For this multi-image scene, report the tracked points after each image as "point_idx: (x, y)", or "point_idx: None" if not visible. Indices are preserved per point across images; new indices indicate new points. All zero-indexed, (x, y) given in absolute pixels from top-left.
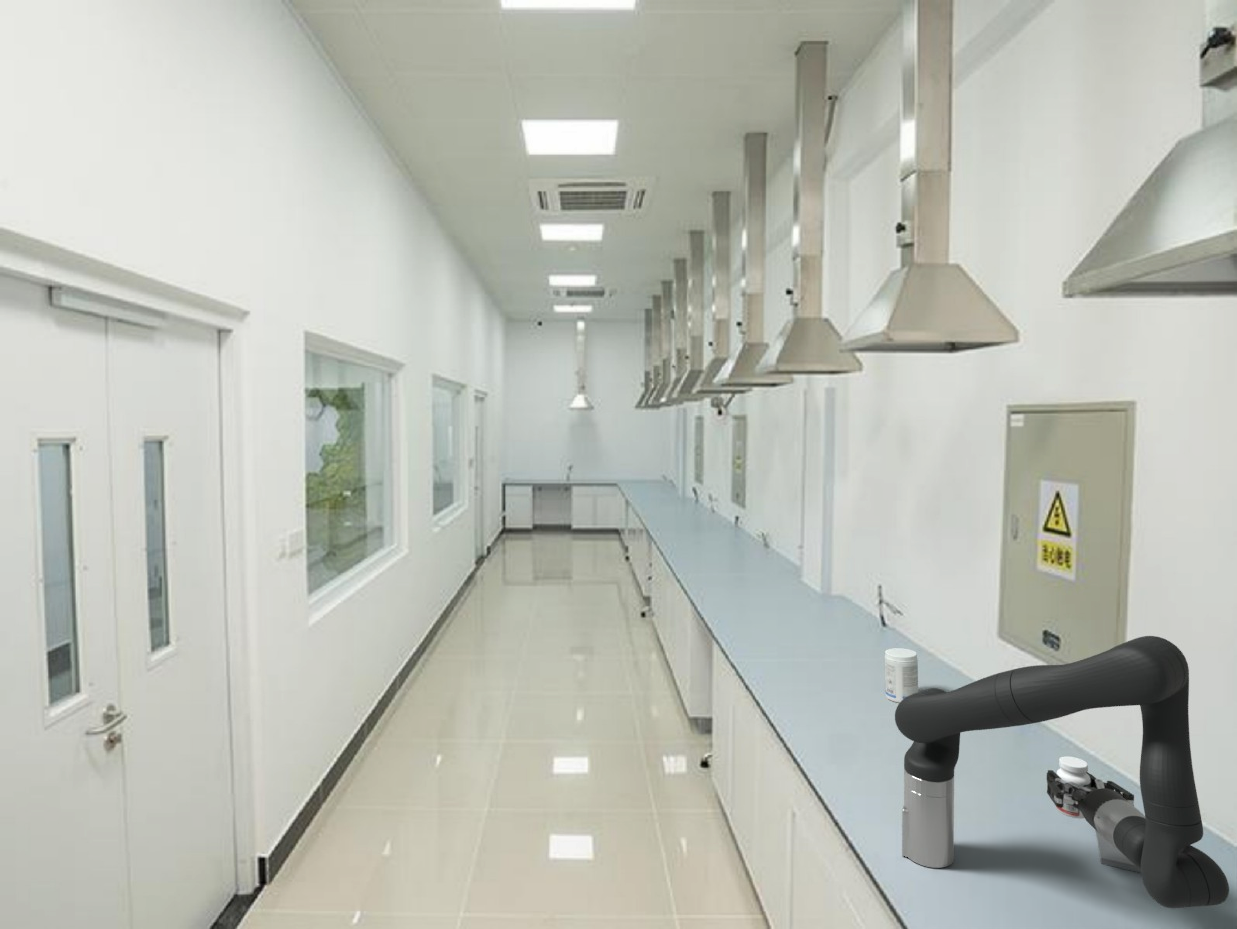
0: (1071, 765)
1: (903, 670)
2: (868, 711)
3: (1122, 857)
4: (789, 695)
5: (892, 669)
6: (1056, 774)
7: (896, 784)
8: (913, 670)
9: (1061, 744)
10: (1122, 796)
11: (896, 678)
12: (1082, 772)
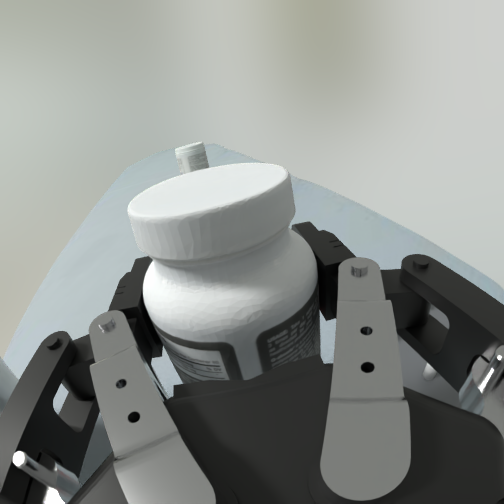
0: (160, 211)
1: (188, 160)
2: None
3: None
4: (107, 210)
5: (180, 162)
6: (142, 279)
7: (98, 294)
8: (199, 158)
9: (329, 194)
10: (498, 378)
11: (185, 169)
12: (239, 246)
